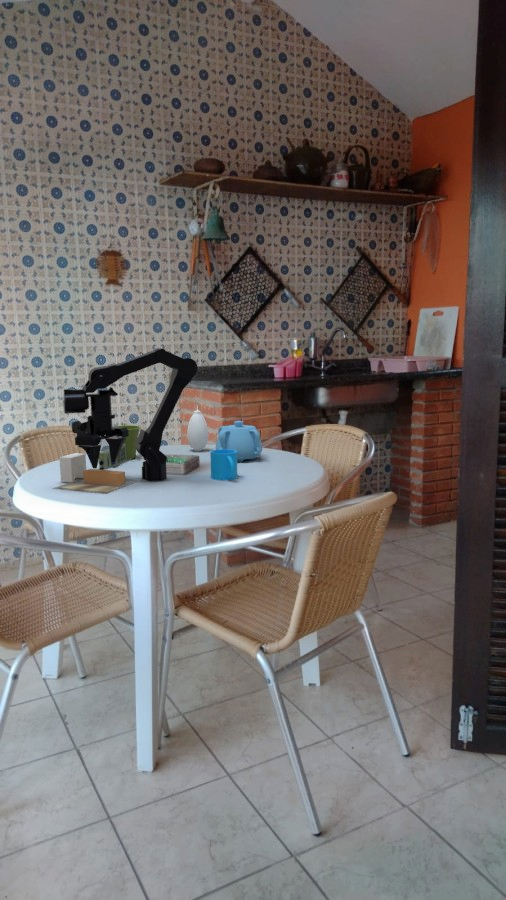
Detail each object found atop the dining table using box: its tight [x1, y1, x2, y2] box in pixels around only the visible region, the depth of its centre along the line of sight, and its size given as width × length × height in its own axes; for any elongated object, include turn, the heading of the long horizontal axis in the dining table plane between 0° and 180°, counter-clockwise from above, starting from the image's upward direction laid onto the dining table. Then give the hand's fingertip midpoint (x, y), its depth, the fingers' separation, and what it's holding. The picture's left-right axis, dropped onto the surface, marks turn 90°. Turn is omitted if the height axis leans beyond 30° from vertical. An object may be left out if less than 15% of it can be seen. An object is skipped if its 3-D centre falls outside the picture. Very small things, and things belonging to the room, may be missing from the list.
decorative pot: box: [215, 420, 263, 463], centre depth 229 cm, size 16×16×14 cm
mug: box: [209, 449, 238, 481], centre depth 198 cm, size 12×8×8 cm
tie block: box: [59, 452, 87, 483], centre depth 192 cm, size 4×7×7 cm, turn 158°
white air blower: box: [186, 404, 209, 452], centre depth 245 cm, size 8×8×18 cm
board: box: [52, 478, 141, 495], centre depth 187 cm, size 18×18×1 cm
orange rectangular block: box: [83, 468, 126, 486], centre depth 188 cm, size 12×4×4 cm, turn 68°
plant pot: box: [112, 424, 141, 461], centre depth 231 cm, size 12×12×11 cm
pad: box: [58, 482, 120, 494], centre depth 182 cm, size 16×6×1 cm, turn 68°
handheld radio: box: [98, 443, 128, 470], centre depth 215 cm, size 7×3×25 cm
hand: (104, 465), depth 188 cm, fingers open, 9 cm apart
